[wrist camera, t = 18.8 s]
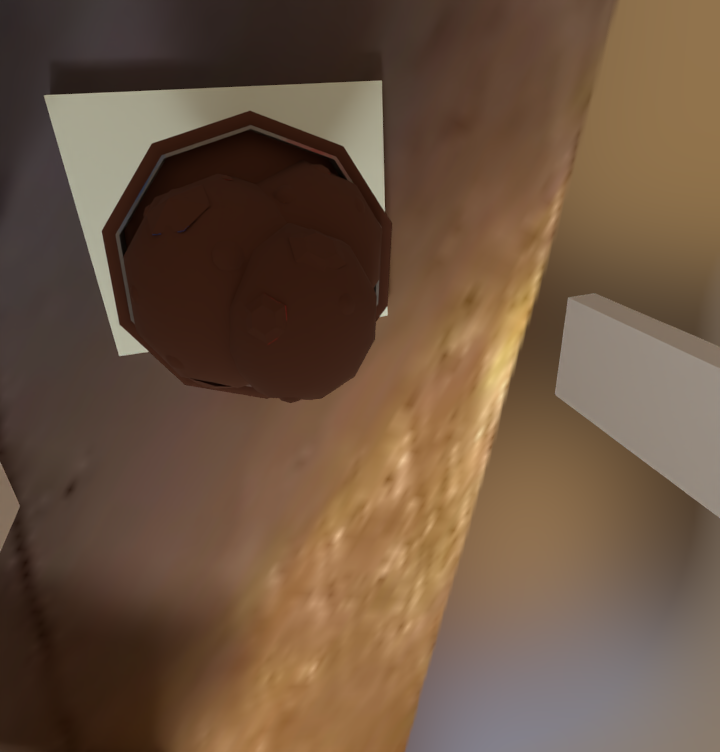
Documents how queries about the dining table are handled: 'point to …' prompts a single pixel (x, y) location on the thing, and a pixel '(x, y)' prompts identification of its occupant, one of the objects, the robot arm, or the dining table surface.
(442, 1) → the dining table surface
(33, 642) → the dining table surface
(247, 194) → the ice cream bowl
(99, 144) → the board
